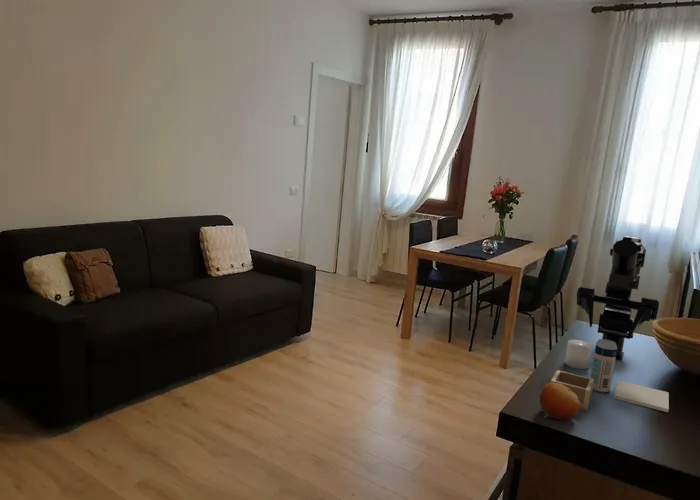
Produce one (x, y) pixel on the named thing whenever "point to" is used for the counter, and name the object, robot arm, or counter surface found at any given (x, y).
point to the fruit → (559, 401)
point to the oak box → (576, 386)
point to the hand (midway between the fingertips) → (610, 330)
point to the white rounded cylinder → (578, 354)
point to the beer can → (603, 365)
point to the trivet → (642, 396)
